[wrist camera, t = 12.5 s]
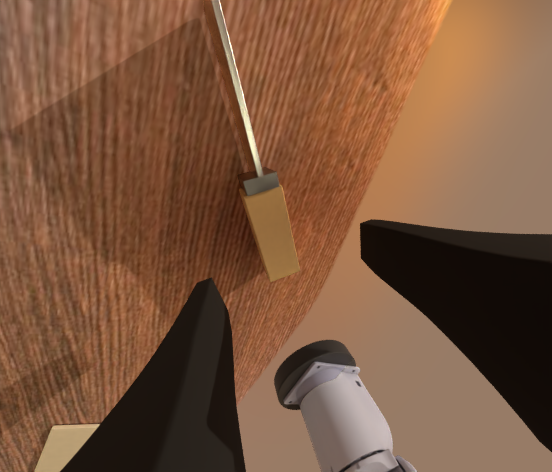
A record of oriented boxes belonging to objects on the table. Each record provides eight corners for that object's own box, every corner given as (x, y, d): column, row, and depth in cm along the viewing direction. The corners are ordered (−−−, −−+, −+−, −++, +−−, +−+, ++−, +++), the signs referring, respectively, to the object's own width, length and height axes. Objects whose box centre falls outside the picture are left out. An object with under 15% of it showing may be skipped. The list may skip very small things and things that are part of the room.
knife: (182, 14, 8) (170, -36, 6) (231, 6, 9) (238, -44, 6) (262, 265, 15) (272, 287, 13) (289, 255, 15) (303, 275, 13)
